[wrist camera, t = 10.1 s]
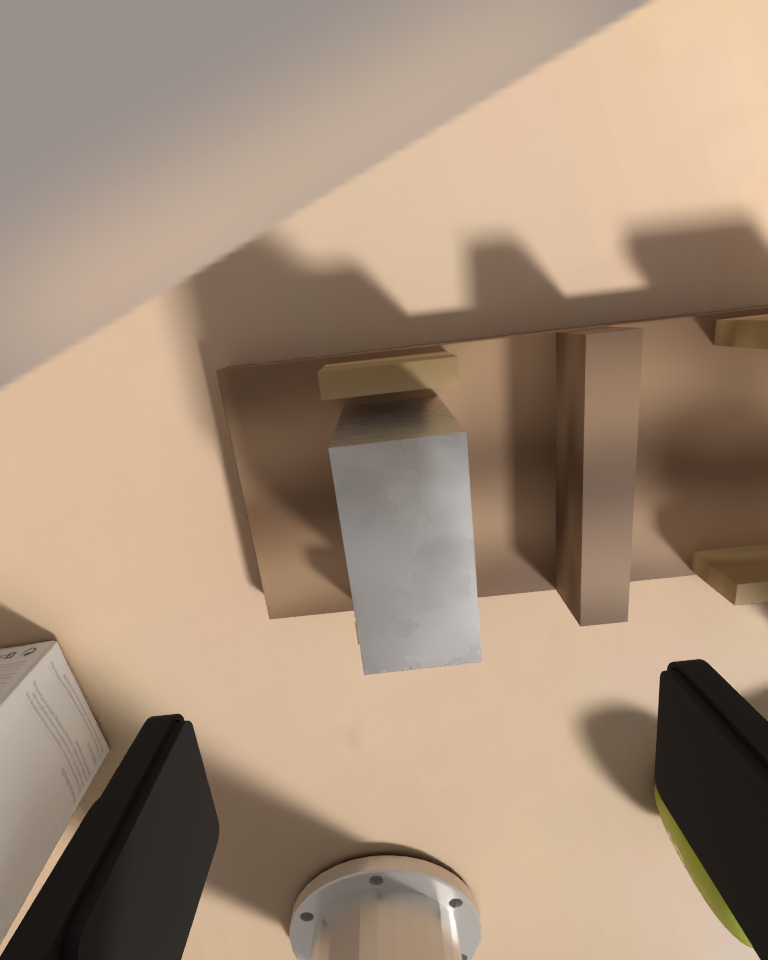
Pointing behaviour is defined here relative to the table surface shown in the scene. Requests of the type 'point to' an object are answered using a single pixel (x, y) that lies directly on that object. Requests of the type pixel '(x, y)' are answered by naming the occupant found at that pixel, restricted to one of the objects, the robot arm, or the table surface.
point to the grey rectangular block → (407, 533)
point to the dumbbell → (699, 873)
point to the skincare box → (39, 764)
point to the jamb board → (535, 458)
